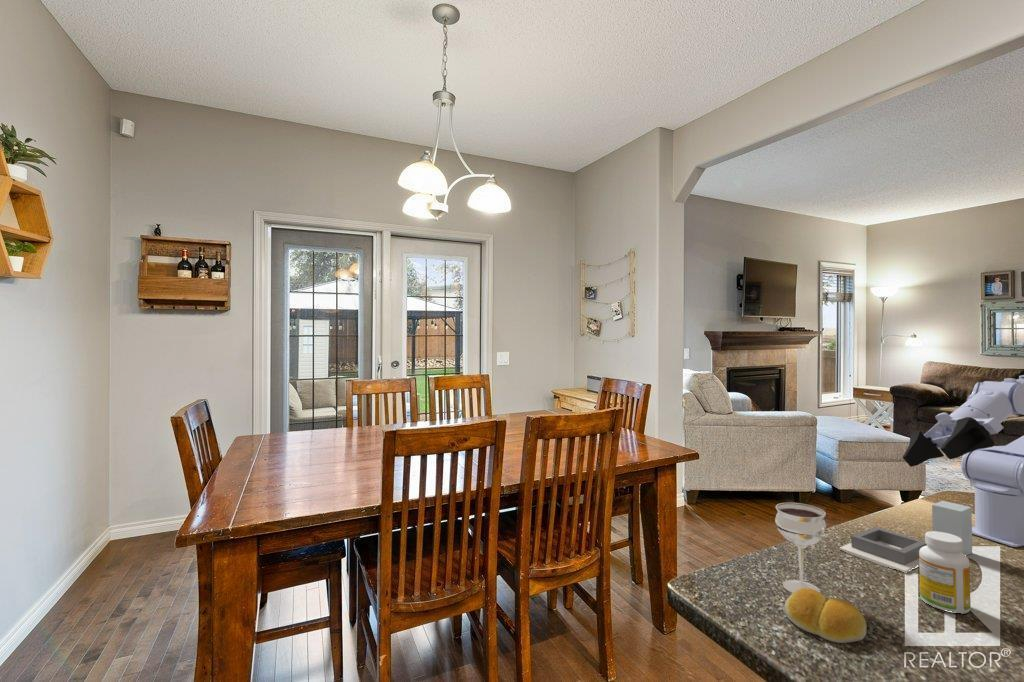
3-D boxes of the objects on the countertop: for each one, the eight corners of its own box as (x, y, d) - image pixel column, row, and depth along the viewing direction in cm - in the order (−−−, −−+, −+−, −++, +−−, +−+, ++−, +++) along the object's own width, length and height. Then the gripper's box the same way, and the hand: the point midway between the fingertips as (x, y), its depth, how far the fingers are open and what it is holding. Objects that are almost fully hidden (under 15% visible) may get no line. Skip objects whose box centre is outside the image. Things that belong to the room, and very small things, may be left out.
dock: (875, 536, 92) (874, 522, 92) (940, 556, 83) (940, 542, 83) (839, 550, 87) (839, 536, 87) (905, 573, 78) (905, 558, 78)
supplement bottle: (950, 594, 71) (948, 529, 71) (981, 615, 66) (980, 544, 66) (910, 593, 72) (909, 528, 72) (938, 614, 67) (937, 544, 67)
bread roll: (858, 655, 59) (857, 622, 59) (778, 624, 66) (778, 594, 66) (874, 626, 65) (873, 597, 65) (799, 600, 71) (799, 573, 71)
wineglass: (800, 603, 70) (799, 520, 70) (766, 580, 77) (764, 504, 77) (839, 596, 72) (837, 515, 72) (802, 574, 78) (800, 500, 78)
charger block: (943, 544, 88) (942, 500, 88) (972, 553, 85) (971, 507, 85) (932, 549, 86) (932, 504, 86) (961, 558, 83) (961, 511, 83)
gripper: (921, 412, 96) (877, 446, 92) (995, 389, 83) (946, 428, 79) (949, 443, 94) (904, 479, 90) (1029, 425, 81) (981, 466, 77)
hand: (926, 457), depth 84 cm, fingers open, 7 cm apart
